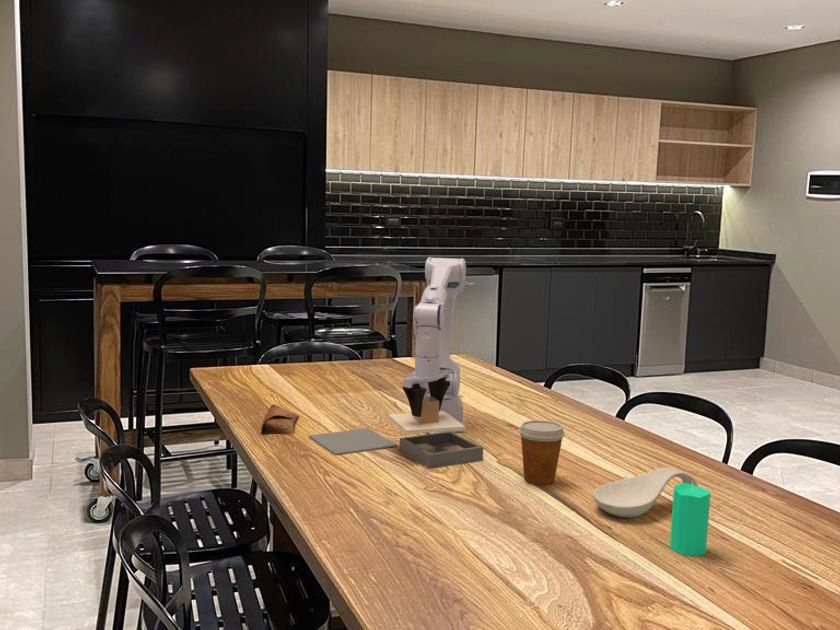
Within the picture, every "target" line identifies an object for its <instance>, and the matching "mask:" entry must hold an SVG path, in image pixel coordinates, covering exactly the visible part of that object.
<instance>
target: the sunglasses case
mask: <svg viewBox="0 0 840 630" xmlns="http://www.w3.org/2000/svg"><path fill="white" fill-rule="evenodd" d="M299 418H300V415H298V414H296V413H294V412H291V411H289V410H286V409H284V408H283V407H281V406H280V405H277V404H272V405H270V407H269V409H268V410H267V412H266V415H265V417H264V419H263V421H262V425H261V429H260V430H261V433H262V434H263V435H266V434H267V436H268V434H285V435H295V427H296V423H297V421H298V419H299Z"/></svg>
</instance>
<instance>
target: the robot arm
mask: <svg viewBox="0 0 840 630" xmlns="http://www.w3.org/2000/svg"><path fill="white" fill-rule="evenodd" d="M466 274H467V263H466V260H465V259H464V258H449V257H448V258H447V257H445V258H444V257H432V256H429V257H427V259H426V260H425V264H424V277H425V280H426V287H425V289H424V290H423V292H422V294H421V295H422V296H421V299H420V301H419V303H418V304H415V305H414V308H413V315H412V317H413V319H412V320H413V329H414V331H413V332H414V334H413V335H414V336H415V347H414V348H415V349H414V355H415V356H414V371H412V372H411V374H410V375H408V376H406V377H403V378H402V390H403V391H404V393H405V395H406V397H407V398H406V399H407V400H408V404H409V407H410V413H412V416H415V417H421V413H422V403H423V398H424V397H425V396H432V397H434V398H435V399H437V400H438V401H439V411H444V412H446V413H447V414H449V415H450V416H451V417H453V418H454V419H456V420H457V421H458V422H460V423H461V424H463V425H464V423H463V422H464V403H463V401H462V398H461V396H459V392H460V387H461V375H460V373H461V369H460V366H459V365H458V364H457V362H455V361H454V360H453V359H452V358H451V350H452V337H453V326H454V313H455V303H456V299H457V297H458V295H459V294H462V293H464V289H465V285H466ZM464 431H465V430H456V431H442V432H427V433H426V434H427V435H428V434H436V433H443V432H453V433H455V434H457V433H462V432H464Z"/></svg>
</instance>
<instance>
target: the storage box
mask: <svg viewBox="0 0 840 630" xmlns="http://www.w3.org/2000/svg"><path fill="white" fill-rule="evenodd" d="M399 451H400V452H401V453H402V454H404V455H405V456H408V457H410V459H413V460H415V461H417V462H418V463H419V464H422V465H423V466H426V467H427V468H428V469H433V468H438V467H439V468H440V467H446V466H451V465H453V466H454V465H458V464H459V465H460V464H464V463H465V464H466V463H471V462H478V461H483V460H484V458H483V457H484V446H482V445H480V444H478V443H476V442H474V441H472V440H469V439H467V438H465V437H464V436H461V435H459V434H457V433H453V432H443V433H436V434H428V433H427V434H421V435H415V436H407V437H399Z"/></svg>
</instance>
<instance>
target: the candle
mask: <svg viewBox="0 0 840 630" xmlns="http://www.w3.org/2000/svg"><path fill="white" fill-rule="evenodd" d="M698 486H699V485H698ZM698 486H695V485H693V481H692V485H691V484H687V483H683V482H682V483H680V484H676V485H675V486H673V492H672V493H673V494H672V496H673V498H672V506H671V507H672V509H671V510H672V512H671V522H670V523H671V525H670V535H669V536H670V539H669V546H670V549H671V550H672V551H673V552H675V553H678V554H682V555H684V556H694V557H695V556H703V555H704V554H705V553H706V552H707V544H708V532H709V520H710V519H709V518H710V517H709V516H710V506H711V504H710V503H711V492H710V490H709V489H706V488H703V487H700V486H699V487H698Z"/></svg>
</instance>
